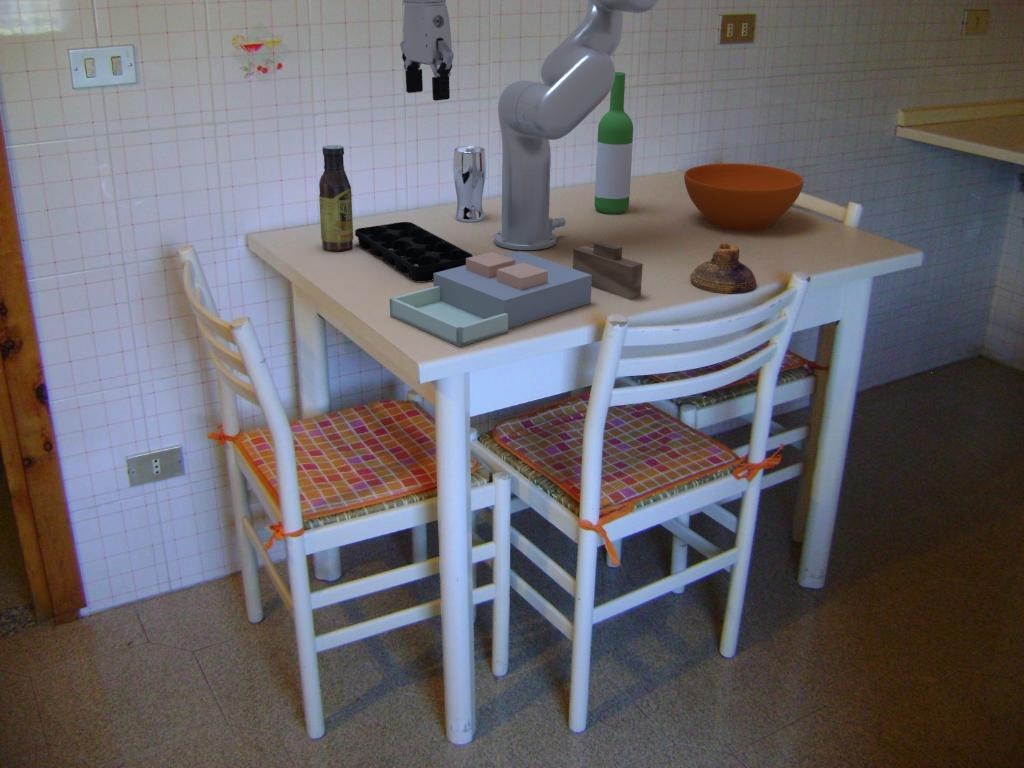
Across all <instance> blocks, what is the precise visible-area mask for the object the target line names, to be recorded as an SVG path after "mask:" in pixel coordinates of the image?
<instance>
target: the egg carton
mask: <svg viewBox="0 0 1024 768" xmlns="http://www.w3.org/2000/svg"><path fill="white" fill-rule="evenodd" d="M354 236H355V237H356V238H357V240H358V245H359V246H360V247H361V248H362V249H364V250H370V251H369V252H370V253H371V255H374V256H375V257H377V258H382V261H383V262H384V263H387V264H388V265H391V266H395V267H394V269H395V270H396V271H398V272H399V273H402V274H407V276H408V279H410V278H411V280H412V281H413V280H414V281H413V282H417V281H420V282H419V283H422V282H421V281H426V282H428V281H427V280H431V281H433V280H432V279H434V273H436V272H440V271H444V270H448V269H452V268H456V267H460V266H464V265H466V258H470V257H474V255H473V254H472V253H470V252H468V251H466V249H465V250H464V249H463V248H460V247H459V246H457V245H455V244H453V243H451V242H450V241H447V240H445V239H444V238H442V237H440V236H438V235H436V234H434V233H432V232H431V231H428V230H426V229H425V228H423V227H421V226H419V225H418V224H415V223H413V222H411V221H410V222H409V221H401V222H393V223H386V224H381V225H373V226H366V227H360V228H356V229H355V231H354Z"/></svg>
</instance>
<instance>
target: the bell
mask: <svg viewBox="0 0 1024 768" xmlns="http://www.w3.org/2000/svg"><path fill="white" fill-rule="evenodd" d="M739 259H740V249H739V246H738V245H735V244H731V243H727V242H723V243H720V244H719V246H718V248H717V249H716V250H715V251H714V252H713V254H712V257H711V259H709V260H707V261H705V262H702V263H700V264H699V265H697V266H696V267H695V268H694V269H693V270H692V272H691V274H690V282H691V283H692V285H694V286H695V287H697V288H699V289H701V290H704V291H708V292H711V293H716V294H729V295H731V294H740V293H741V294H742V293H747V292H751V291H752V290H753V289H754V288H755V287H756V285H757V280H756V279H757V278H756V277H755V275H754V273H753V271H752V270H751V269H750V268H749V267H748V266H747V265H745V264H744V263H742V262H740V260H739Z"/></svg>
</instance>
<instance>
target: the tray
mask: <svg viewBox="0 0 1024 768" xmlns="http://www.w3.org/2000/svg"><path fill="white" fill-rule="evenodd" d="M389 316H390V317H392V318H394V319H396V320H399V321H401V322H403V323H405V324H408V325H409V326H412V327H413V328H414V327H415V328H416V329H419V330H420V331H423V332H425V333H428V334H430V335H432V336H434V337H437V338H438V339H441V340H444V341H445V342H448V343H450V344H452V345H455V346H456V347H459V348H460V347H461V348H462V347H464V346H467V345H470V344H473V343H477V342H480V341H484V340H486V339H490V338H492V337H496V336H498V335H502V334H505V333H508V332H509V329H508V314H507V313H503V314H500V315H497V316H493V317H490V318H487V319H483V318H480V317H478V316H476V315H473V314H471V313H468V312H466V311H463V310H461V309H459V308H456V307H454V306H451V305H449V304H447V303H444V302H442V301H440V287H439V286H435V287H434V286H431V287H429V288H425V289H420V290H416V291H413V292H409V293H405V294H402V295H398V296H394V297H390V298H389Z"/></svg>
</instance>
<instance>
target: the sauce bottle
mask: <svg viewBox="0 0 1024 768" xmlns="http://www.w3.org/2000/svg"><path fill="white" fill-rule="evenodd" d="M322 155H323V165H324V166H323V169H324V171H323V173H322V174H321V176H320V178H319V181H318V182H319V184H318V189H319V190H318V191H319V195H318V196H319V197H318V200H319V218H320V221H319V222H320V238H321V240H322V242H321V244H322V247H323V249H324V250H327V251H333V252H334V251H335V252H339V251H346V250H348V249H349V250H350V249H351V248H352V247H353V243H354V242H353V240H354V225H353V224H354V223H353V220H354V219H353V199H352V198H353V197H352V196H353V195H352V187H351V184H350V181H349V178H348V175H347V173H346V171H345V165H344V155H345V149H344V146H343V145H339V144H330V145H324V146H322Z"/></svg>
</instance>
